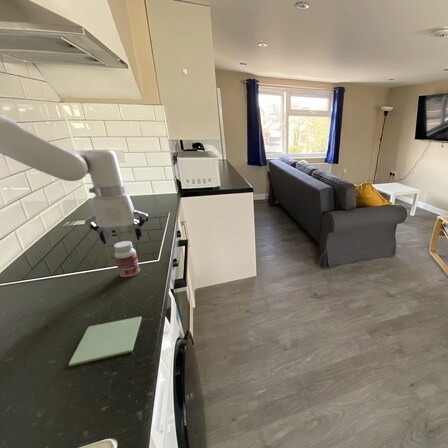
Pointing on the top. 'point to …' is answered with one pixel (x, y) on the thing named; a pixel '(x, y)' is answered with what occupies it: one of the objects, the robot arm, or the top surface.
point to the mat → (106, 341)
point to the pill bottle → (126, 259)
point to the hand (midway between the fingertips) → (123, 240)
